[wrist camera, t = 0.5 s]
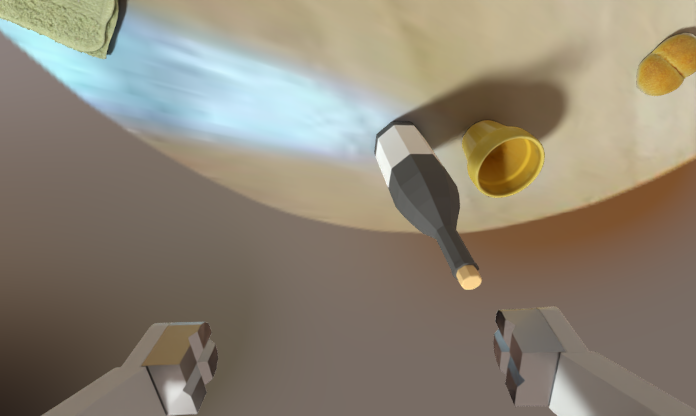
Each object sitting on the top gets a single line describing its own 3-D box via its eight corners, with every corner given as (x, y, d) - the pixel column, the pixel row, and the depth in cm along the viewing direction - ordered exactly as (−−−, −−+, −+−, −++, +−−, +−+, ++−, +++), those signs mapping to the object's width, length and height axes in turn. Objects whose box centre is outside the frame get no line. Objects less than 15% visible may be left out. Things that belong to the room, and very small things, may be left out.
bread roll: (623, 75, 59) (642, 83, 56) (676, 22, 55) (700, 28, 52) (648, 102, 62) (668, 111, 59) (700, 54, 59) (724, 62, 56)
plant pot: (517, 149, 64) (550, 180, 56) (460, 176, 66) (484, 209, 58) (506, 96, 58) (540, 122, 50) (443, 127, 60) (467, 157, 52)
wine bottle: (388, 111, 57) (464, 242, 33) (432, 130, 60) (530, 264, 36) (363, 155, 61) (415, 301, 37) (405, 171, 64) (478, 316, 40)
